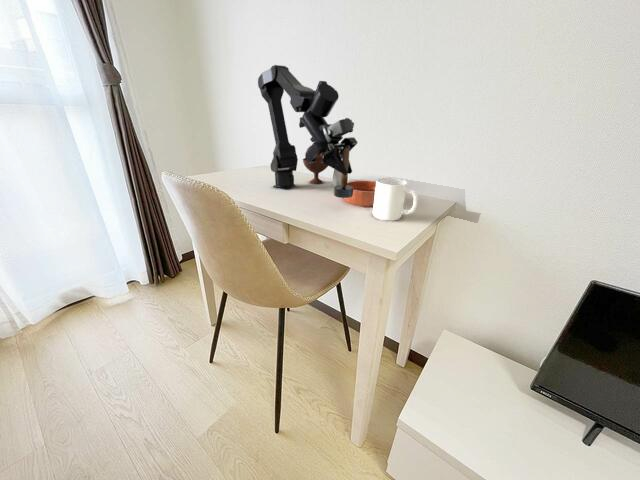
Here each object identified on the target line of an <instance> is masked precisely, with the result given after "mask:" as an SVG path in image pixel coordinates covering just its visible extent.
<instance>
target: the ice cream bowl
mask: <svg viewBox="0 0 640 480" xmlns="http://www.w3.org/2000/svg"><path fill="white" fill-rule="evenodd" d="M310 147H311V145H309V146H308V147H307V148H306V152H307V150H308V149H309V148H310ZM306 152H305V153H306ZM322 159H323V157H322V155H317V156H316V162H314V163H308V161H307V160H306V158H305V157H304V158H302V163H303V165H304V166H305V168H306V170H308V171H310V172H311V173H313V178H312V179H311V180H310V181H309V184H311V185H321V184H322V185H323V183H324V182H323V181H322V179H320V178H319V174H320V173H322V172H323V171H325V170H326V169H327V168H328V167H329V166H328V165H326V164H324V163H321V161H322Z"/></svg>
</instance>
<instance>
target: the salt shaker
mask: <svg viewBox="0 0 640 480" xmlns="http://www.w3.org/2000/svg"><path fill="white" fill-rule="evenodd" d="M341 176H342V173H340V172H339V171H337V170H335V169H334V168H333V173H332V183H333V185H334V187H335V186H337V185H341Z"/></svg>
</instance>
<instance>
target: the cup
mask: <svg viewBox="0 0 640 480" xmlns="http://www.w3.org/2000/svg"><path fill="white" fill-rule="evenodd" d="M375 182H376V189H375V197H374V206H372V215H373V217H375V218H377V219H378V220H382V221H388V222H389V221H391V222H393V221H398V220H400V219H401V217H402V215H410V214H413V213H414V212H415V211H416V209H417V207H418V201H419V199H418V193H417V191H415V189H412V188H407V187H408V181H406V180H404V179H402V178H396V177H395V178H394V177H380V178H378V179H376V181H375ZM406 194H409V195H412V198H413V201H412V202H413V203H412V206H411V208H410V209H405V208H404V205H405V199H406Z"/></svg>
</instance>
